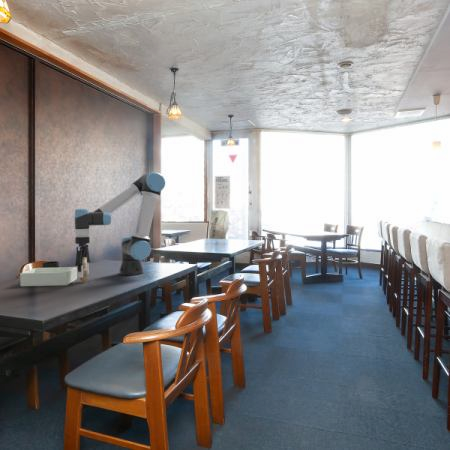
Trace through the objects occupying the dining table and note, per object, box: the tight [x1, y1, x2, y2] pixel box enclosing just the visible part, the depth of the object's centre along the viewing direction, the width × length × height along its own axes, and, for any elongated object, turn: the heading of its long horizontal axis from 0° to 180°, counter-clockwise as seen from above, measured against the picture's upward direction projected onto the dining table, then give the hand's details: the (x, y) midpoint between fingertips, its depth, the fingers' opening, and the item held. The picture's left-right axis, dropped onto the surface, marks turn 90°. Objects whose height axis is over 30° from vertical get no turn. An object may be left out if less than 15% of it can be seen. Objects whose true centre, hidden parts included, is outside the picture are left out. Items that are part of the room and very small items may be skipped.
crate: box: [19, 266, 78, 287], centre depth 209 cm, size 24×18×7 cm
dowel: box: [79, 257, 88, 284], centre depth 209 cm, size 4×4×14 cm
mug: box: [41, 260, 61, 268], centre depth 226 cm, size 9×12×9 cm
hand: (83, 275), depth 209 cm, fingers open, 10 cm apart
